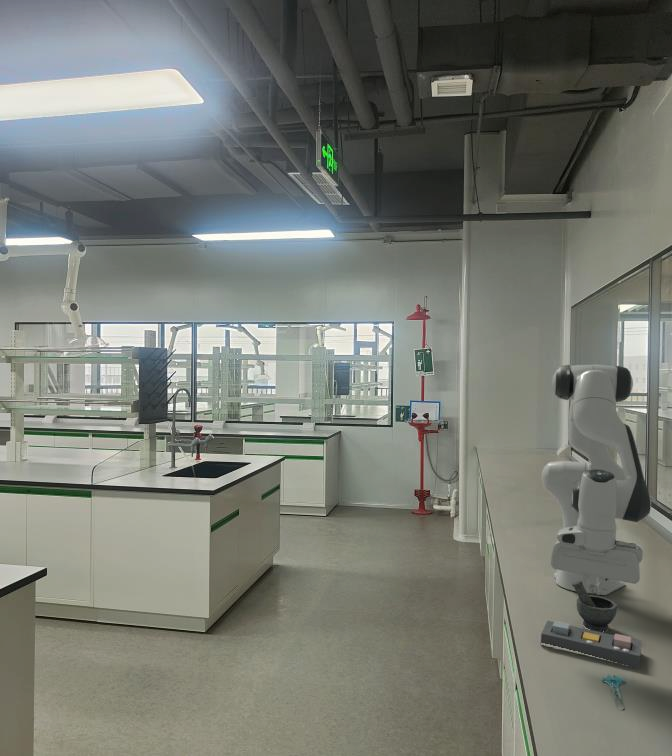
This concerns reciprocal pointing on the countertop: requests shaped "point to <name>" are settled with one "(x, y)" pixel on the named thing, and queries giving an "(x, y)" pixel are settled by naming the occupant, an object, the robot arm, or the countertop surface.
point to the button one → (591, 637)
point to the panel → (593, 645)
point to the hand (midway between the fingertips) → (593, 593)
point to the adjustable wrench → (614, 681)
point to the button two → (622, 641)
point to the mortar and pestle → (594, 609)
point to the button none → (561, 628)
